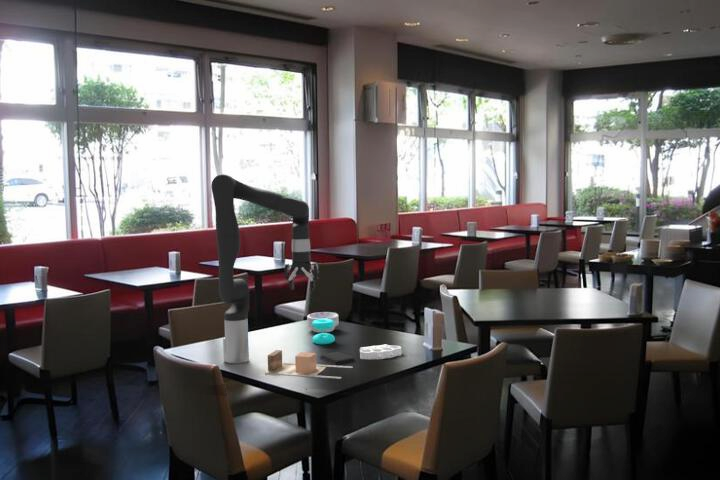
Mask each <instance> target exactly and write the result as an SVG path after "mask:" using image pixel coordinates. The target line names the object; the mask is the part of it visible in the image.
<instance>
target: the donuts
mask: <svg viewBox="0 0 720 480" xmlns="http://www.w3.org/2000/svg"><path fill="white" fill-rule="evenodd" d="M312 326H313V327H314V328H316V329H320V330H325V329H330V328H332V327H333V326H334V321H333V320H331V319H317V320H314V321H313V322H312ZM335 340H336V338H335V336H334V334H331V333H329V332H328V333H317V334H315V335H313V337H312V343H314V344H316V345H329V344H332V343H334V342H335Z"/></svg>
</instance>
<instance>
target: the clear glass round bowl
mask: <svg viewBox="0 0 720 480" xmlns="http://www.w3.org/2000/svg"><path fill="white" fill-rule="evenodd" d="M306 319H307V320H306V321H307V322H306V323H307V324H306V325H307V327H308V328H310V329H311V330H312V331H313V333H317V334H321V333H328V334H329V333H331V332H333V331H334V330H335V329H336V327H337V326H339V324H340V321H339V320H340V319H339V314H338V313H337V312H331V311H322V312H321V311H320V312H319V311H318V312H313V313H310V314H308V315H307V316H306ZM317 319H331V320H333V321H334V326H333V327H332V328H330V329H325V330H320V329H316V328H314V327H313V326H312V322H313V321H314V320H317Z"/></svg>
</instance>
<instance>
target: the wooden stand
mask: <svg viewBox="0 0 720 480" xmlns="http://www.w3.org/2000/svg"><path fill="white" fill-rule="evenodd" d="M326 368H327V367H324V366H316V369H315V370H314V371H313V372H311V373H303V372H296V366H295V365H291V364H283V350H278V349H275V350H274V351H272V352H271V353H269V354H267V370H266V372H264V375H265V376H268V375H269V374H268V373H269V372H271V373H286V374H301V375H317V376H318V375H319V374H320V373H321V372H322V371H324V370H325V369H326Z"/></svg>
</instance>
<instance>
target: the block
mask: <svg viewBox="0 0 720 480" xmlns="http://www.w3.org/2000/svg"><path fill="white" fill-rule="evenodd" d="M294 359H295V360H294V363H295V366H296V372H303V373H311V372H313V371H314V370H315V369H316V364H317V353H316V352H303V351H301V352H299V353H298V354H297V355H295V358H294Z"/></svg>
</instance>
